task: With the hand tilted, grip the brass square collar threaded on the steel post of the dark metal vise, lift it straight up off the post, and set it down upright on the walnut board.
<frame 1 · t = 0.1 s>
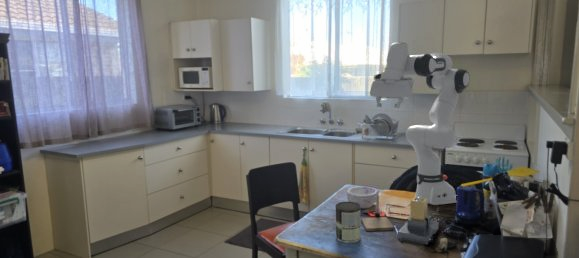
hand: (387, 107, 183), 52 cm above the table, tool tilted 20°, fingers open, 8 cm apart
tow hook: (376, 215, 196), on the table
brass collar: (418, 217, 172), point 7 cm above the table, touching vise
white bowl: (362, 205, 210), on the table
walnut board: (376, 225, 184), on the table
coffee can: (348, 238, 172), on the table
vise: (418, 233, 173), on the table
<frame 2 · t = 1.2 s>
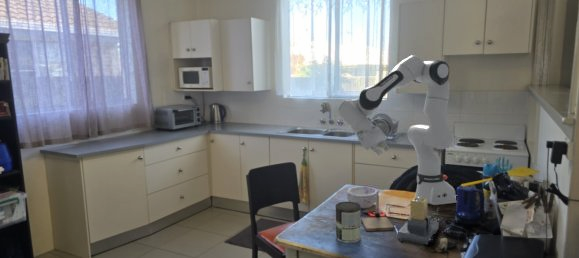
hand: (384, 152, 187), 31 cm above the table, tool tilted 45°, fingers open, 8 cm apart
nothing on the table moved.
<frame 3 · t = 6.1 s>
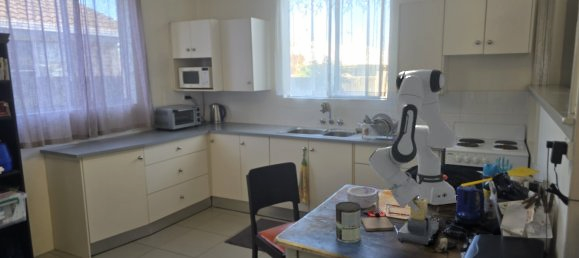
hand: (420, 207, 171), 12 cm above the table, tool tilted 45°, fingers closed on brass collar, 5 cm apart
brass collar: (418, 217, 172), point 7 cm above the table, touching gripper, vise
everything else where it was.
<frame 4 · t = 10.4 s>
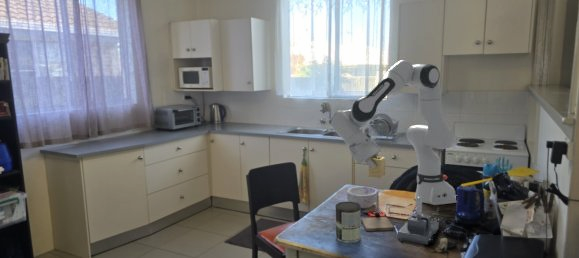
hand: (378, 165, 179), 27 cm above the table, tool tilted 45°, fingers closed on brass collar, 5 cm apart
brass collar: (377, 175, 180), point 23 cm above the table, touching gripper
everything else where it was.
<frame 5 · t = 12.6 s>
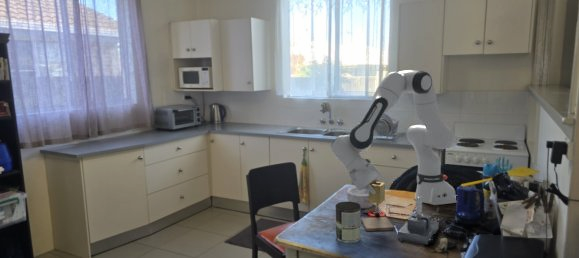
hand: (378, 191, 181), 16 cm above the table, tool tilted 45°, fingers closed on brass collar, 5 cm apart
brass collar: (376, 201, 182), point 11 cm above the table, touching gripper
everything else where it was.
when the fingers open (7 cm above the table, at t = 14.8 s): brass collar drops 1 cm, resting on walnut board.
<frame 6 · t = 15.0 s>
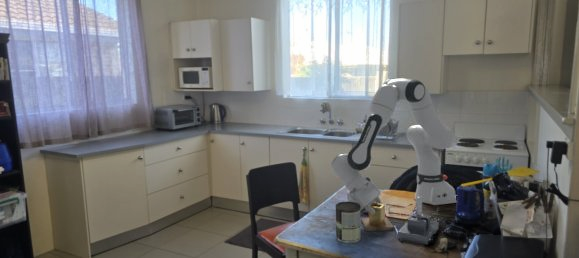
hand: (378, 210, 182), 7 cm above the table, tool tilted 45°, fingers open, 8 cm apart
brass collar: (377, 222, 184), point 1 cm above the table, touching walnut board
everything else where it was.
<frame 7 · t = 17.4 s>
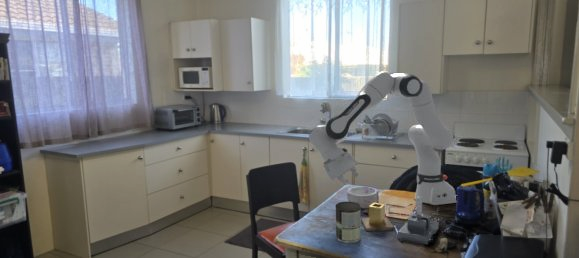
hand: (352, 180, 189), 19 cm above the table, tool tilted 40°, fingers open, 8 cm apart
nothing on the table moved.
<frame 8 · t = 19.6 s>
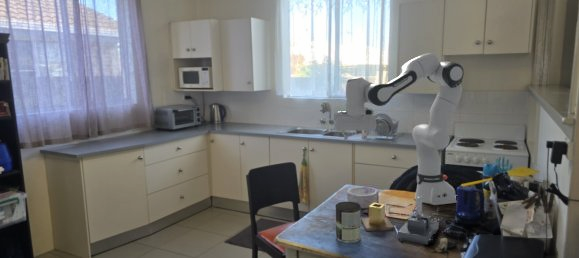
hand: (355, 139, 201), 35 cm above the table, tool pointing down, fingers open, 8 cm apart
nothing on the table moved.
at the end: brass collar inside the target area on the walnut board (0.1 cm from its centre), point 1.2 cm above the walnut board's base; brass collar tilted 0°; brass collar touching walnut board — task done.
